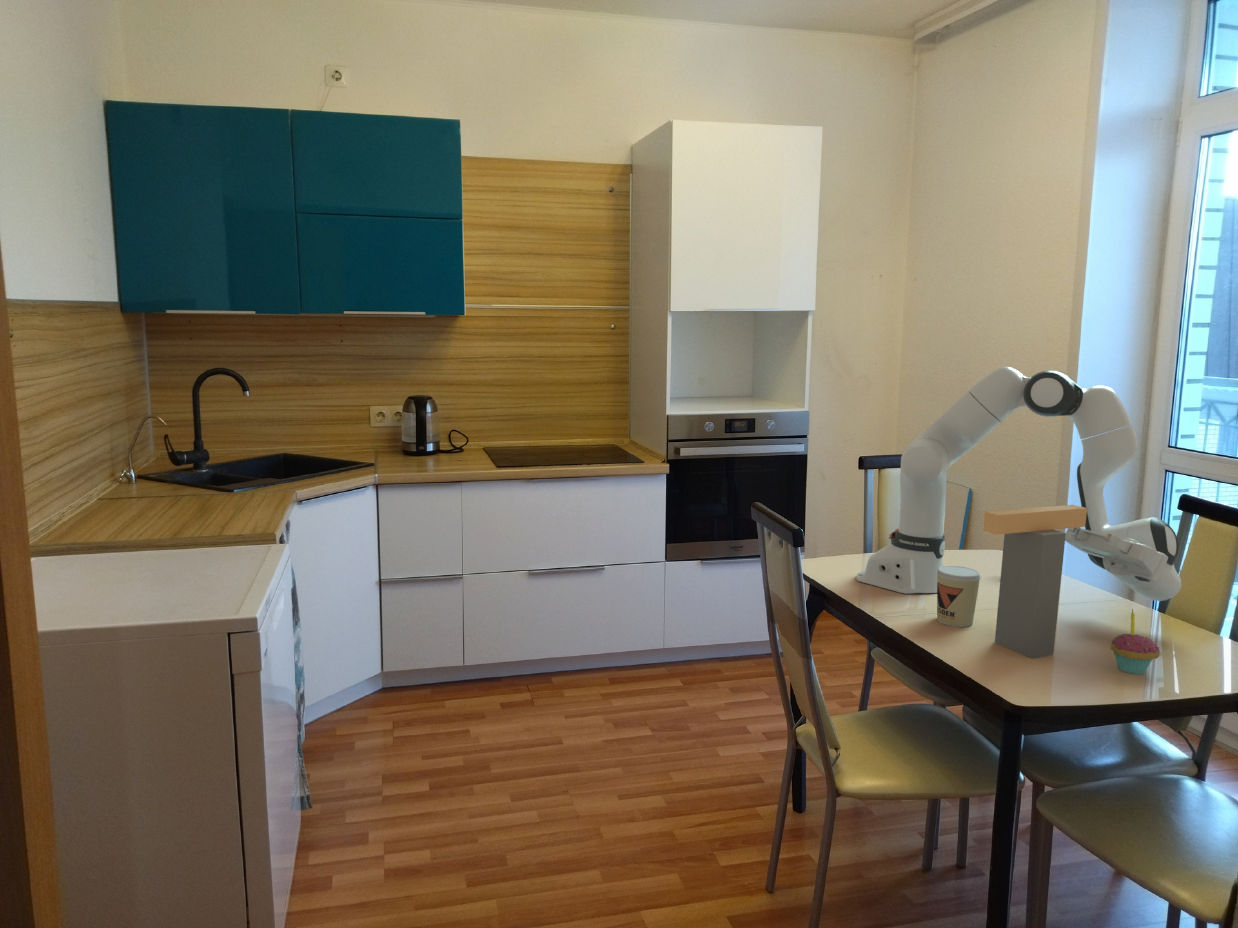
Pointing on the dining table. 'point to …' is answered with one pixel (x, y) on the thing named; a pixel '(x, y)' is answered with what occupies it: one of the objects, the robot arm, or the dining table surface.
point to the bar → (1034, 519)
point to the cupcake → (1134, 651)
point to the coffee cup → (957, 595)
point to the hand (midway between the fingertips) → (1089, 532)
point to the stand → (1030, 591)
